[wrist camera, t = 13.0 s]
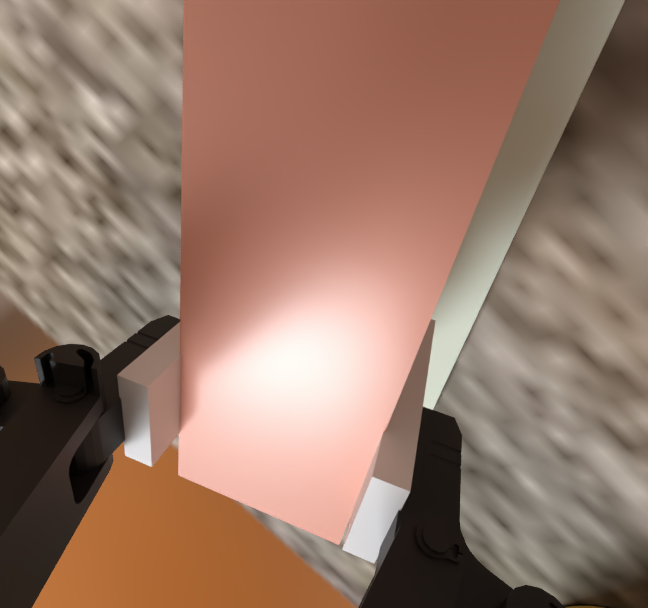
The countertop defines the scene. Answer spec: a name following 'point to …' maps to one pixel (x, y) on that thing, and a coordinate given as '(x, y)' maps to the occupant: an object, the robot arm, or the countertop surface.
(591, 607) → the plant pot
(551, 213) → the countertop surface
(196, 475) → the long pink block
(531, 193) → the pale green flat board
